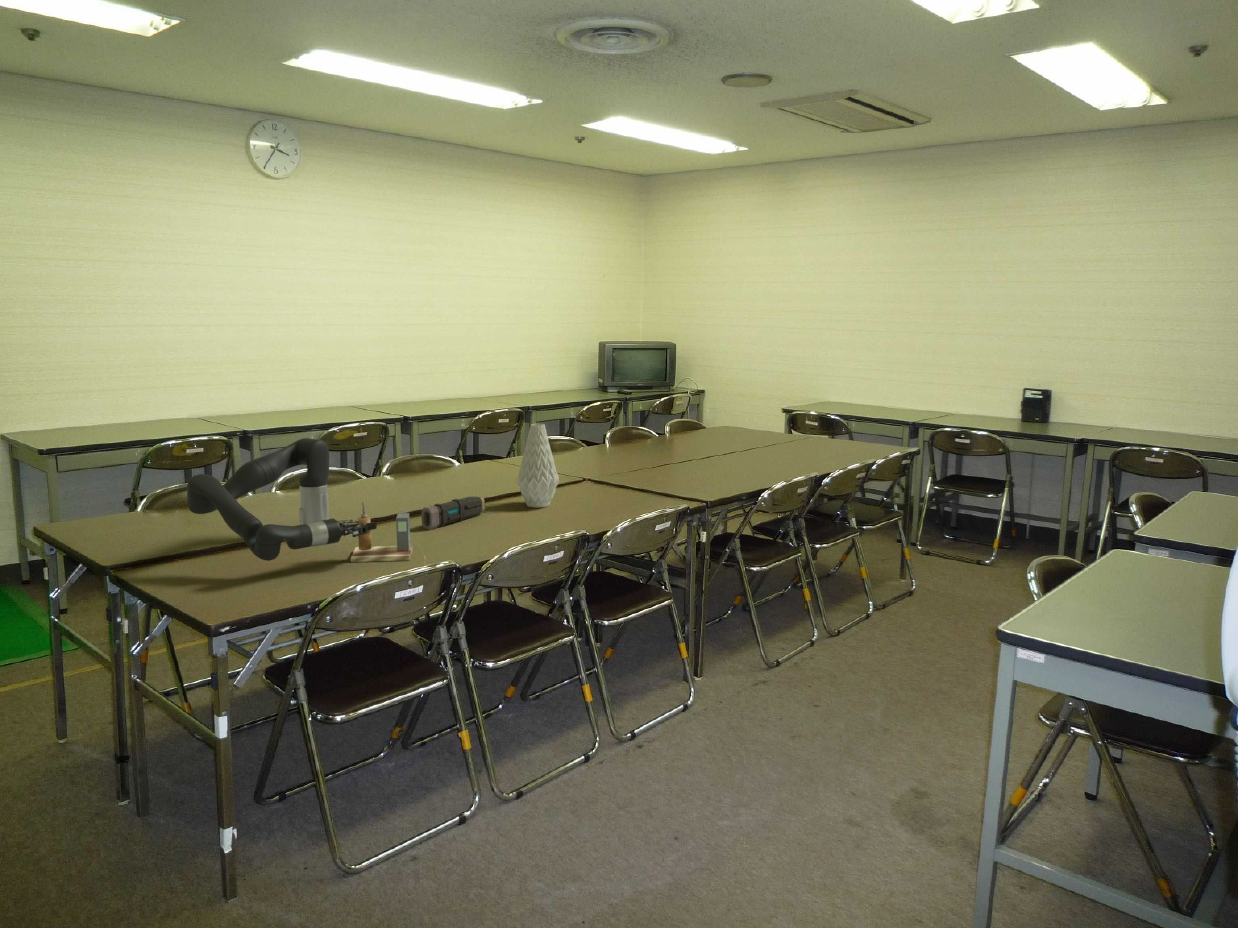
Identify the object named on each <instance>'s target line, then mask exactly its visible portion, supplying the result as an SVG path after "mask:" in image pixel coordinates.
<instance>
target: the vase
mask: <svg viewBox="0 0 1238 928" xmlns="http://www.w3.org/2000/svg"><path fill="white" fill-rule="evenodd" d="M528 430H529V432H528V435H527V439H526V443H525V448H524V450H523V451H524V452H523V455H522V459H521V464H520V468H519V471H518V476H517V480H516V484H517V485H518V486H519V490H520V493H521V497H522V498H523V500H524V502H525V504H526V506H527V507H529V508H535V509H536V508H545V507H548V506H550V504H551V501H552V500H553V498H554V495H555V493H556V491H557V487H558V485H559V483H560V480H559V474H558V472H557V469H556V468H557V467H556V465H555V459H554V457H553V452H552V449H551V445H550V442H549V437H548V432H547V431H548V430H547V429H546V425H545V424H544V423H531V424H530V427H529V429H528Z"/></svg>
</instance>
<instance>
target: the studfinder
mask: <svg viewBox="0 0 1238 928" xmlns="http://www.w3.org/2000/svg"><path fill="white" fill-rule="evenodd" d="M410 521H411V520H410V513H409V512H403V513H402V512H400V513H397V515H396V518H395V522H396V523H395V524H396V546H397V551H409V549H410V545H411V524H410Z"/></svg>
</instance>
